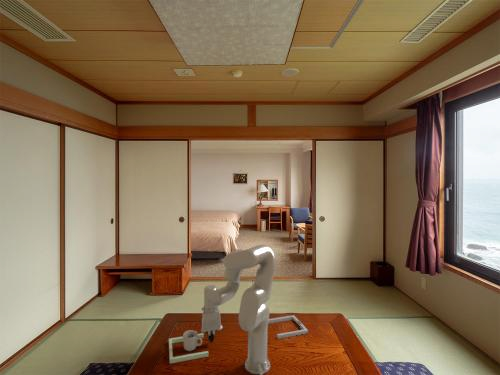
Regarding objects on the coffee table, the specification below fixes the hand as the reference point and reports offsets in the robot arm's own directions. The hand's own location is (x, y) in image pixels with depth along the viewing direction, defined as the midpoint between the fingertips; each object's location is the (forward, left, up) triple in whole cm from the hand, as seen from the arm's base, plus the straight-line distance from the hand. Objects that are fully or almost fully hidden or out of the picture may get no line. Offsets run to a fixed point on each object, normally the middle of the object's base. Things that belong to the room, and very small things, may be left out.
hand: (211, 340), depth 155 cm
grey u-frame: (+4, -47, -2) cm, 47 cm away
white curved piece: (+21, -5, -3) cm, 21 cm away
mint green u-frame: (0, +12, -2) cm, 12 cm away
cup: (0, +10, -3) cm, 11 cm away
